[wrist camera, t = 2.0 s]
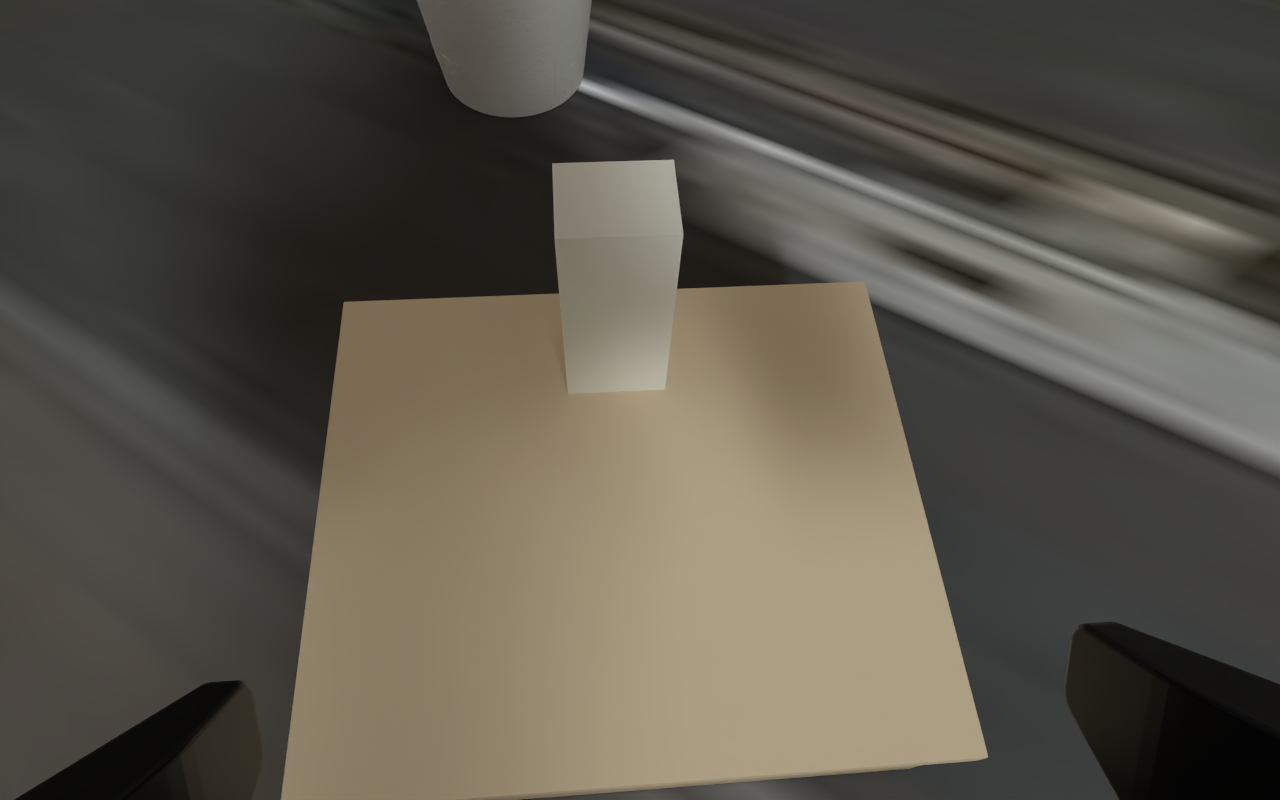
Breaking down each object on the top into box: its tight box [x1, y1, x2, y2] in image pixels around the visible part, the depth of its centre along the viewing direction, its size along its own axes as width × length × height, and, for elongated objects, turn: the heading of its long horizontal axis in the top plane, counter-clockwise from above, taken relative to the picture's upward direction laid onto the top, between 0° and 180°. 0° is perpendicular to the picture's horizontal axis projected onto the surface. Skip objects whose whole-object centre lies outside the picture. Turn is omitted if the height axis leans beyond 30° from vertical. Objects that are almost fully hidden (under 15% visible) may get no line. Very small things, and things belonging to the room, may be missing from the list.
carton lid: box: [281, 160, 988, 800], centre depth 17 cm, size 12×14×7 cm
